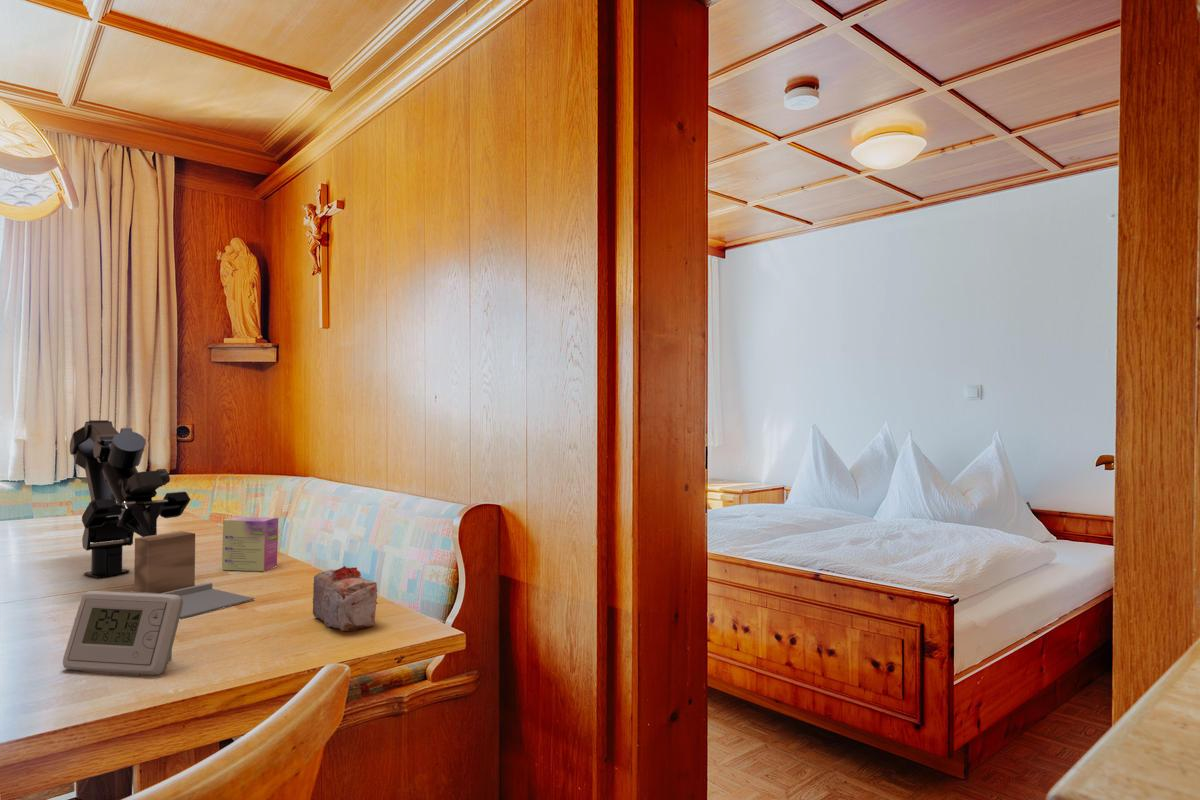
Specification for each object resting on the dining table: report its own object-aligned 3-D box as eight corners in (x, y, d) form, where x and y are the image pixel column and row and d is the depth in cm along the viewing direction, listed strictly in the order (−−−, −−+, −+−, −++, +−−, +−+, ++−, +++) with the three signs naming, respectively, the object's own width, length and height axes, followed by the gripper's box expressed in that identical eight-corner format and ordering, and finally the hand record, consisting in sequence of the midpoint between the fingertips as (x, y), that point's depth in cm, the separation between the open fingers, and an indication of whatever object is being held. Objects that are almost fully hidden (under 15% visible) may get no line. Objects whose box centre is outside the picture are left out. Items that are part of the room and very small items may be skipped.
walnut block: (134, 599, 137) (134, 538, 137) (180, 588, 145) (181, 531, 145) (147, 602, 135) (148, 540, 135) (194, 592, 143) (195, 533, 143)
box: (278, 566, 166) (278, 516, 166) (264, 572, 160) (264, 520, 160) (236, 565, 167) (237, 515, 167) (221, 570, 161) (222, 519, 161)
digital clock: (55, 671, 100) (56, 597, 100) (116, 651, 109) (117, 582, 109) (136, 687, 95) (138, 608, 95) (195, 664, 103) (196, 592, 103)
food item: (383, 627, 121) (384, 570, 121) (339, 637, 115) (340, 578, 115) (346, 610, 131) (347, 558, 131) (304, 619, 125) (304, 564, 125)
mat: (136, 606, 132) (136, 598, 132) (209, 589, 144) (209, 582, 144) (181, 618, 125) (182, 610, 125) (254, 600, 137) (254, 592, 137)
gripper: (89, 459, 137) (118, 520, 131) (186, 454, 153) (215, 508, 147) (69, 497, 141) (96, 558, 135) (165, 488, 157) (193, 542, 151)
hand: (153, 540), depth 142 cm, fingers closed
